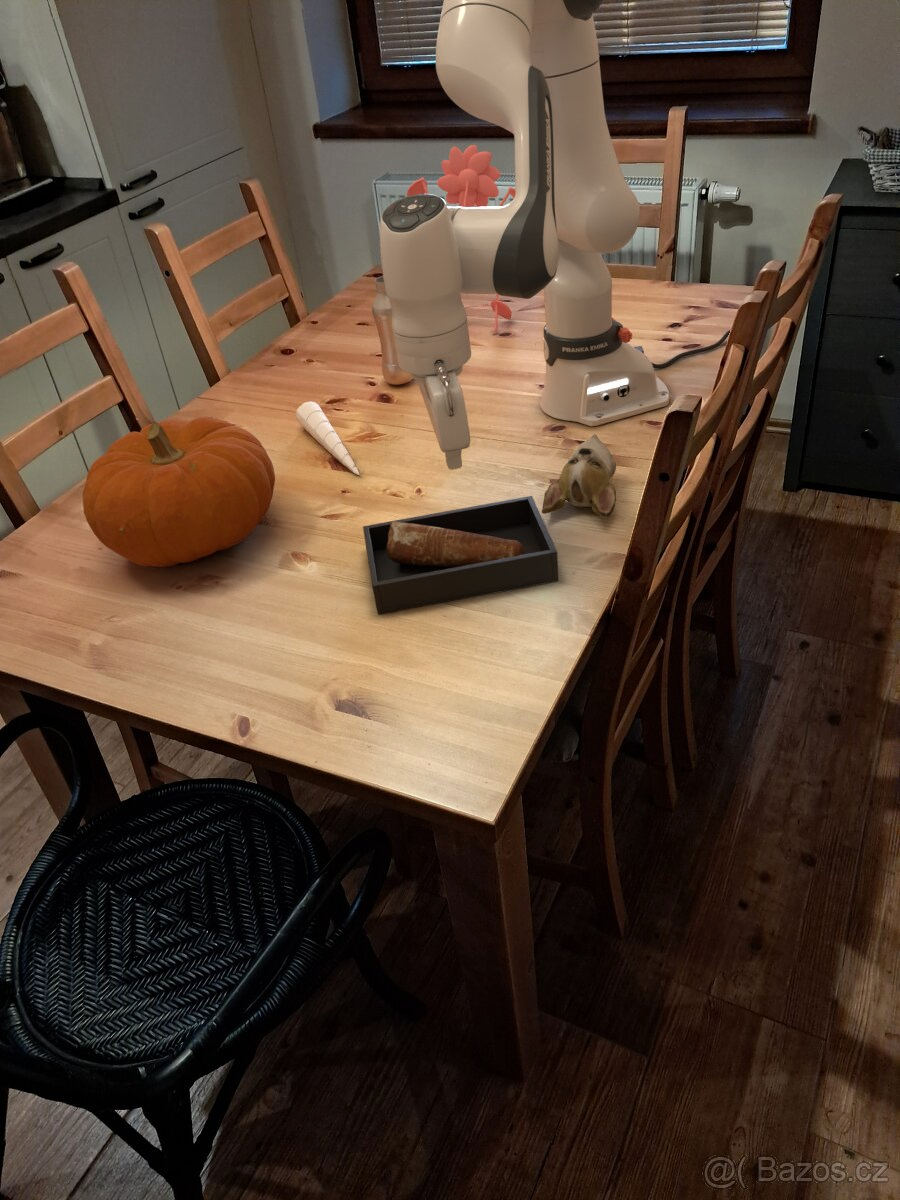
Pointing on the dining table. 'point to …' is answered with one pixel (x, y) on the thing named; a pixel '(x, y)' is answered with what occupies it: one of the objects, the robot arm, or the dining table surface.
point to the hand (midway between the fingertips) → (448, 448)
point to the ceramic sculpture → (585, 480)
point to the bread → (445, 546)
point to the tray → (447, 583)
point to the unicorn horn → (324, 432)
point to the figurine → (469, 191)
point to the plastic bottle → (387, 336)
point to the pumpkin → (178, 491)
